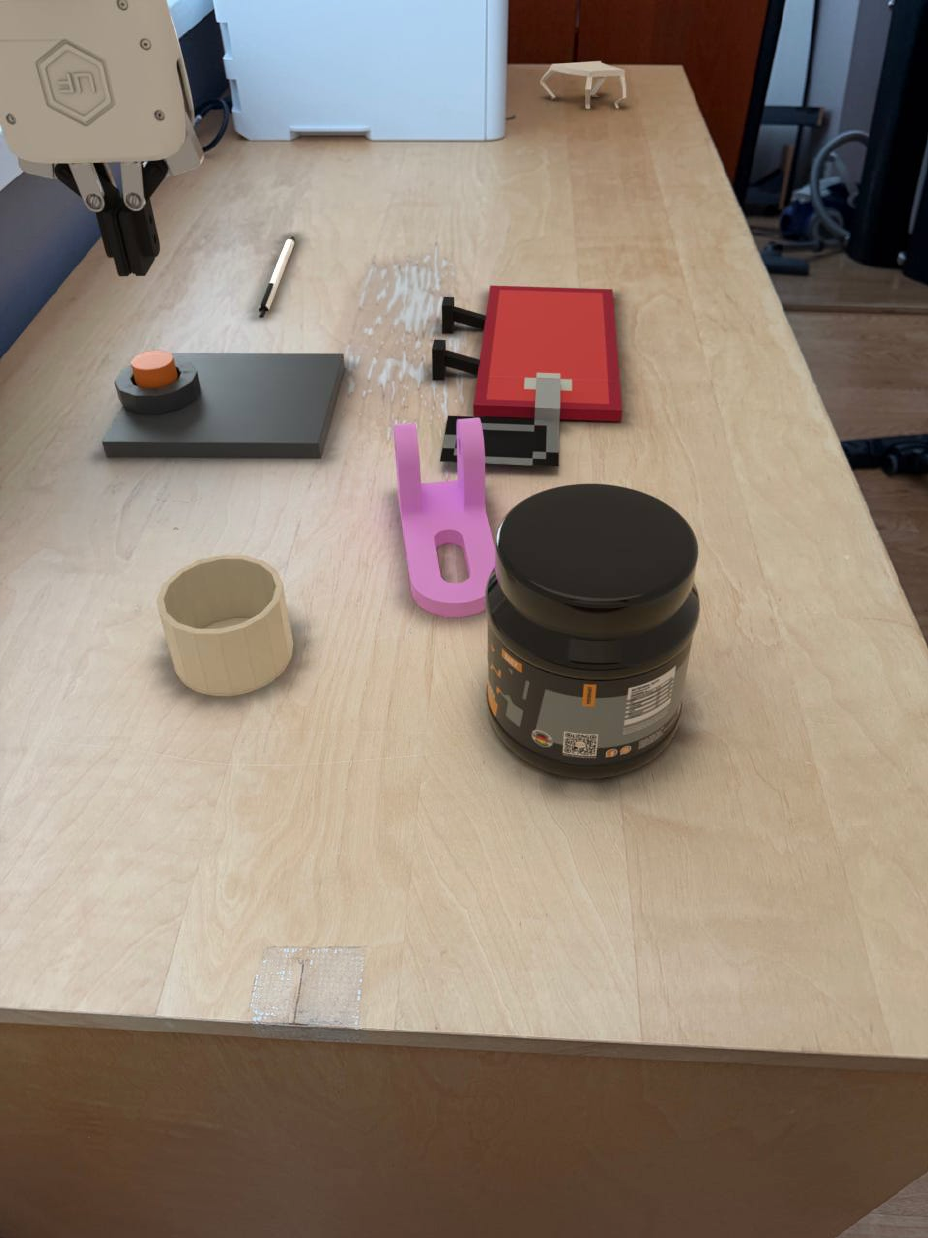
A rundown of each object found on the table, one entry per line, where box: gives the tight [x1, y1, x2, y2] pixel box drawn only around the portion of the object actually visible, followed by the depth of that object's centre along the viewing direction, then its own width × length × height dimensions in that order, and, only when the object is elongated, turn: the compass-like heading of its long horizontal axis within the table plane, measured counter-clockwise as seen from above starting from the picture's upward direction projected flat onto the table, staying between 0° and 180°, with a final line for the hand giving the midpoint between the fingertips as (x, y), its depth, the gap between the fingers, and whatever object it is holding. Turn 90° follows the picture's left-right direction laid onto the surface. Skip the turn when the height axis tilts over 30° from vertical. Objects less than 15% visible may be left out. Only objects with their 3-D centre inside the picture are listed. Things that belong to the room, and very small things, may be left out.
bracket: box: [392, 418, 495, 618], centre depth 65 cm, size 13×6×7 cm, turn 7°
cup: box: [156, 554, 294, 697], centre depth 59 cm, size 7×7×5 cm
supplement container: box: [484, 483, 701, 779], centre depth 53 cm, size 10×10×12 cm
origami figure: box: [539, 60, 627, 110], centre depth 142 cm, size 12×8×5 cm
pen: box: [258, 235, 296, 318], centre depth 101 cm, size 1×19×1 cm, turn 178°
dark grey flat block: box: [101, 352, 346, 460], centre depth 81 cm, size 16×14×3 cm
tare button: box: [130, 349, 178, 388], centre depth 80 cm, size 3×3×2 cm
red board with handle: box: [431, 285, 623, 467], centre depth 84 cm, size 30×3×15 cm
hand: (137, 266), depth 65 cm, fingers closed
